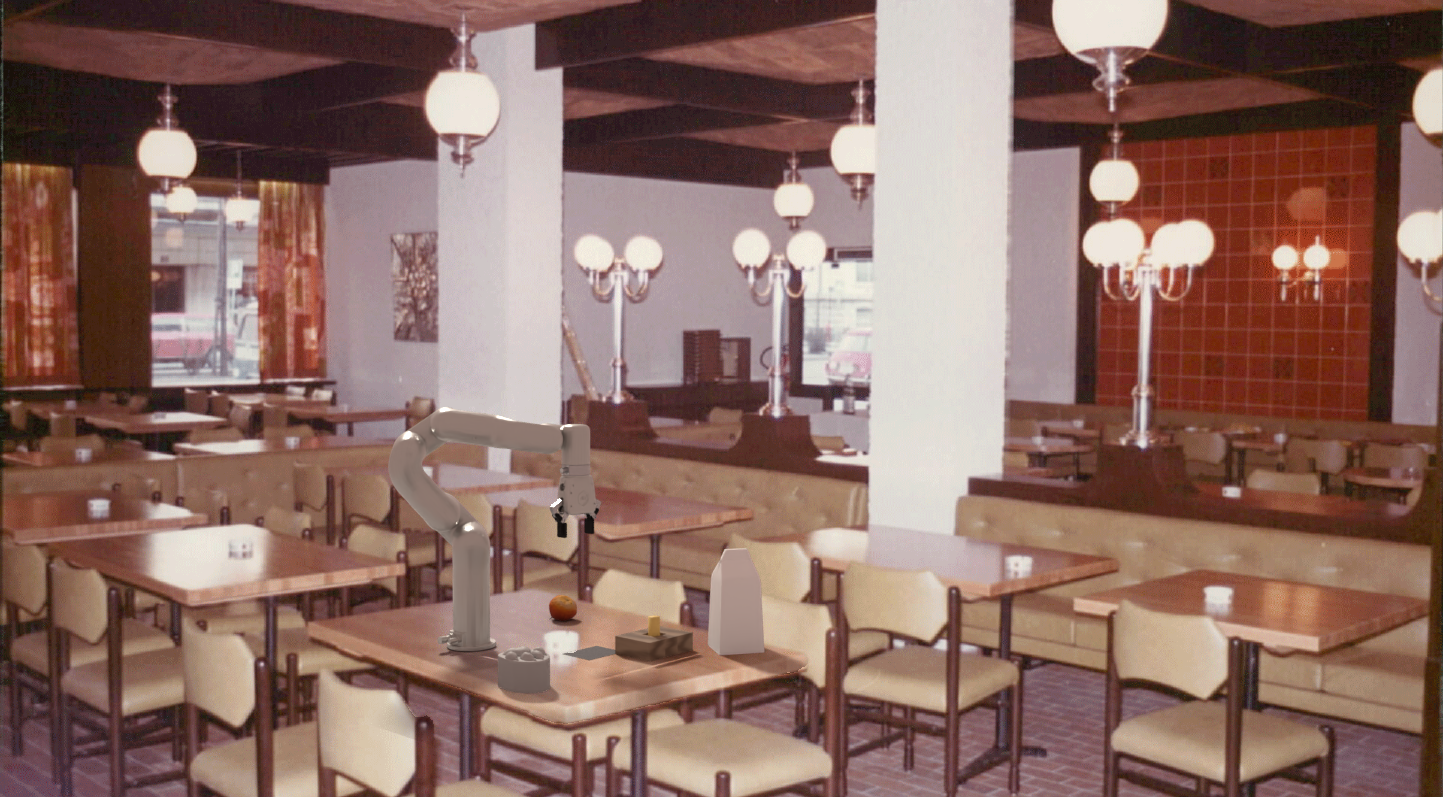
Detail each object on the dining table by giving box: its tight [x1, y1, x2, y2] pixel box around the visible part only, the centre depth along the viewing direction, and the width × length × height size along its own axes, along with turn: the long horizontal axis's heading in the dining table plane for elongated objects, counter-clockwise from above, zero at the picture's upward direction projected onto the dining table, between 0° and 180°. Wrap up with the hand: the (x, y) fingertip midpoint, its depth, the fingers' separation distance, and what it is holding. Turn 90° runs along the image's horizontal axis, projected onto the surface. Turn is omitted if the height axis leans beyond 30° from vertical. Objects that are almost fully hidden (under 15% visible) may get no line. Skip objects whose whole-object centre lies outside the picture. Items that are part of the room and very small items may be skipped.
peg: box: [647, 615, 661, 637], centre depth 333 cm, size 3×3×10 cm
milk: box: [707, 547, 766, 656], centre depth 339 cm, size 12×12×26 cm
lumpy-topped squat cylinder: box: [497, 645, 551, 694], centre depth 301 cm, size 10×13×9 cm
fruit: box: [548, 594, 578, 622], centre depth 374 cm, size 8×8×8 cm
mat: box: [563, 645, 616, 661], centre depth 333 cm, size 12×10×1 cm
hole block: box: [614, 625, 694, 663], centre depth 334 cm, size 16×12×5 cm
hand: (575, 535), depth 346 cm, fingers open, 9 cm apart
